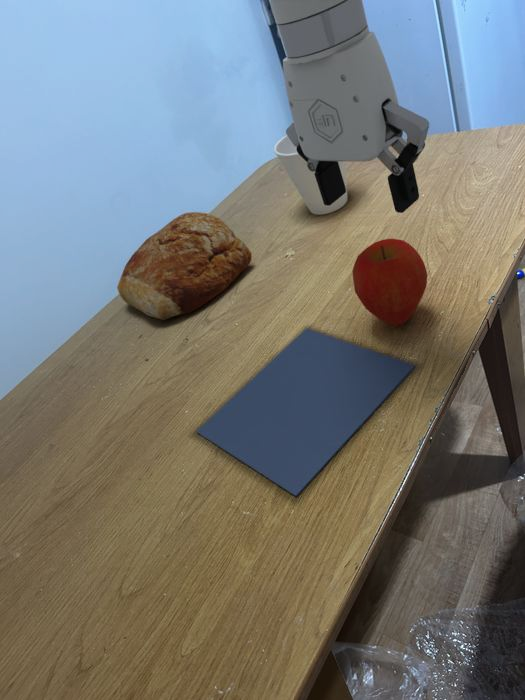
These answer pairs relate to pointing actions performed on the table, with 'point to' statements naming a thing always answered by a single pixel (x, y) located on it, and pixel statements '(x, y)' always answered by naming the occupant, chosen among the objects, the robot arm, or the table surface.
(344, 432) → the napkin
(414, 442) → the table surface
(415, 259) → the apple
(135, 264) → the bread
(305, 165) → the cup
